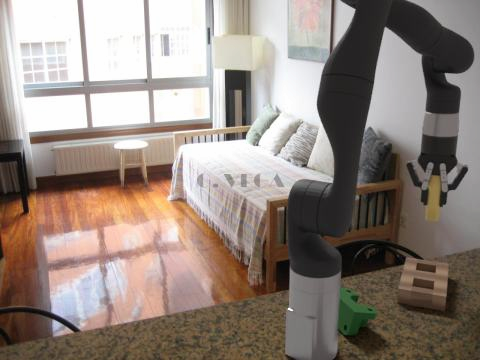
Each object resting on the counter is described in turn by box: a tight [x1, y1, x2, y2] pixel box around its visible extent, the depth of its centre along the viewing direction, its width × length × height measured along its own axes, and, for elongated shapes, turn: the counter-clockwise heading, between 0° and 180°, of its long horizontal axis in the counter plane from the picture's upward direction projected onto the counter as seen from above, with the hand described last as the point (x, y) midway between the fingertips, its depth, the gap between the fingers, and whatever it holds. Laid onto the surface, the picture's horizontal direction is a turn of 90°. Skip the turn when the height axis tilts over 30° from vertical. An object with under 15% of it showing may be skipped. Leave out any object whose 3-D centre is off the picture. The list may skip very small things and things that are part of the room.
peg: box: [424, 175, 442, 223], centre depth 120 cm, size 3×3×11 cm
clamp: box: [338, 287, 378, 336], centre depth 108 cm, size 12×6×9 cm, turn 13°
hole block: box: [396, 257, 450, 312], centre depth 122 cm, size 18×10×4 cm, turn 157°
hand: (433, 204), depth 120 cm, fingers closed on peg, 3 cm apart
